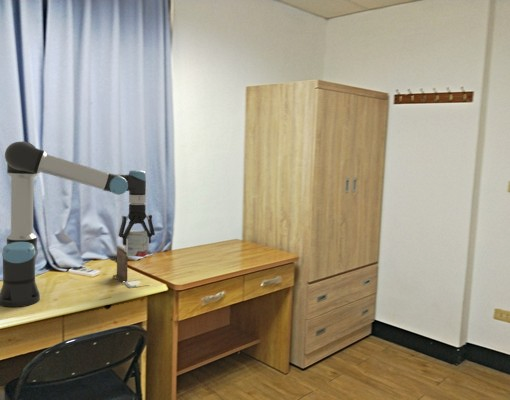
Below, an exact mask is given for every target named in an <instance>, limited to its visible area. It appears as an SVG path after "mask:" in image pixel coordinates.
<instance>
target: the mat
mask: <svg viewBox="0 0 510 400" xmlns="http://www.w3.org/2000/svg"><path fill="white" fill-rule="evenodd" d="M138 280H139V279H134V280H133V279H132V280H127V281H125V282H123V283H124V284H123V283H122V284H123V285H124V286H126V287H127V286H128V287H129V288H128V287H127V288H128V289H131V288H130V287H134V288H137V287H136V285H140V284H139V283H141V282H140V281H138Z"/></svg>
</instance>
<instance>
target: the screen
mask: <svg viewBox="0 0 510 400" xmlns="http://www.w3.org/2000/svg"><path fill="white" fill-rule="evenodd" d="M128 258H129V256H127V253H126V252H125V247H122V246H121V245H118V246H116V274H113V275H112V276H113V277H114V278H115V277H116V278H117V279H118V280H117V279H116V278H115V279H116V280H117V281H118V282H120V283H122V282H123V281H128V261H129V260H128Z"/></svg>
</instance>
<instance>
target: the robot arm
mask: <svg viewBox="0 0 510 400" xmlns="http://www.w3.org/2000/svg"><path fill="white" fill-rule="evenodd" d="M4 159H5V161H6V163H7V164H6V173H7V175H8V176H9V177H10V188H11V189H10V190H11V191H10V234H8V235H7V236H6V245H4V246H3V248H2V252H1V256H2V286H1V289H0V306H2V307H5V308H17V307H19V308H20V307H25V306H30V305H34V304H36V303H38V302H39V301H41V298H40V297H41V293H40V290H39V289H38V288H39V287H38V285H37V283H36V259H37V256H38V254H39V252H38V251H39V250H38V237H37V235H36V234H35V233H34V201H35V200H34V198H35V197H34V188H35V187H34V186H35V185H34V183H35V182H34V181H35V180H34V179H35V177H36V176H38V174H45V175H50V176H53V177H58V178H61V179H64V180H68V181H70V182H75V183H78V184H82V185H85V186H88V187H91V188H92V187H93V188H97V189H99V190H102V191H104V192H109V193H112V194H115V195H122V194H123V195H124V194H125V193H127V192H129V193H128V203H129V204H128V215H122V216H121V223H120V228H119V233H118V237H120V238H121V239H122V245H123V246H124V249H125V252H126V253H128V238H127V236H128V234H129V232H130V230H132V228H133V227H134V225H137V224H138V225H139V224H140V225H141V226H142V228H143V231H147V252H149V251H150V249H149V248H150V244H151V241H152V237H153V236H155V233H156V232H155V229H154V225H153V215H151V214H146V209H147V208H146V200H147V199H146V198H147V195H146V193H147V188H146V187H147V186H146V185H147V178H146V177H147V174H146V171H144V170H129V172H128V174H115V173H114V174H113V173H109V172H106V171H103V170H100V169H97V168H94V167H90V166H87V165H83V164H80V163H77V162H73V161H70V160H66V159H65V158H64V159H63V158H60V157H56V156H53V155H51V154H47V152H46V151H45V150H42V149H39V148H37V147H36V146H35V145H33V144H32V143H30V142H28V141H15V142H13V143H11V144H9V145H8V146H7V147H6V149H5V151H4ZM128 219H129V222H128V225H127V226H126V224H127V221H128ZM145 219H146V220H147V224H148V225H147V224H146V222H145Z"/></svg>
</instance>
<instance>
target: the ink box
mask: <svg viewBox="0 0 510 400" xmlns="http://www.w3.org/2000/svg"><path fill="white" fill-rule="evenodd" d="M127 238H128V253H127V256H128V257H141V258H143V257H146V256H147V255H148V251H147V231H145V230H135V229H134V230H133V229H131V230H130V232H129V234H128V236H127Z"/></svg>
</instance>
